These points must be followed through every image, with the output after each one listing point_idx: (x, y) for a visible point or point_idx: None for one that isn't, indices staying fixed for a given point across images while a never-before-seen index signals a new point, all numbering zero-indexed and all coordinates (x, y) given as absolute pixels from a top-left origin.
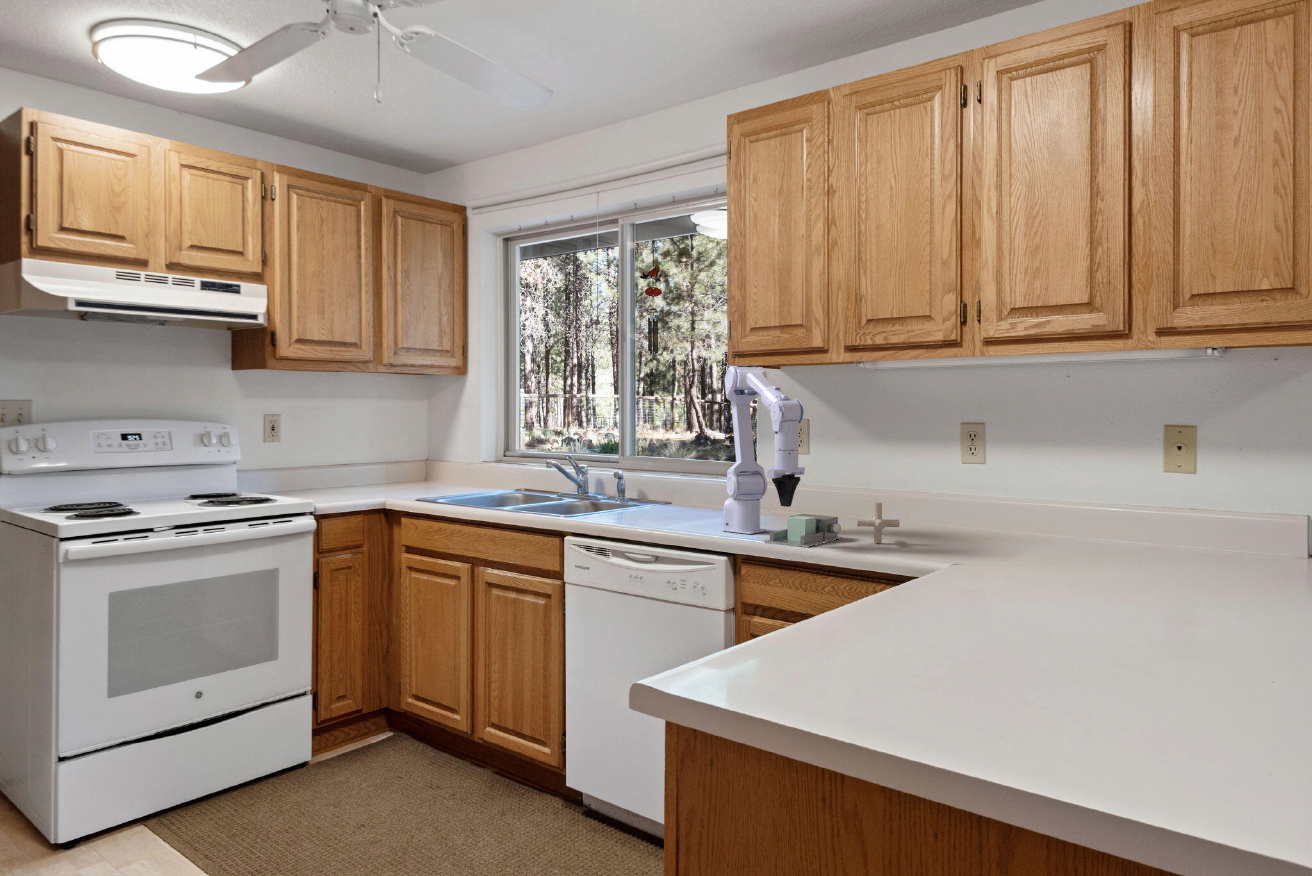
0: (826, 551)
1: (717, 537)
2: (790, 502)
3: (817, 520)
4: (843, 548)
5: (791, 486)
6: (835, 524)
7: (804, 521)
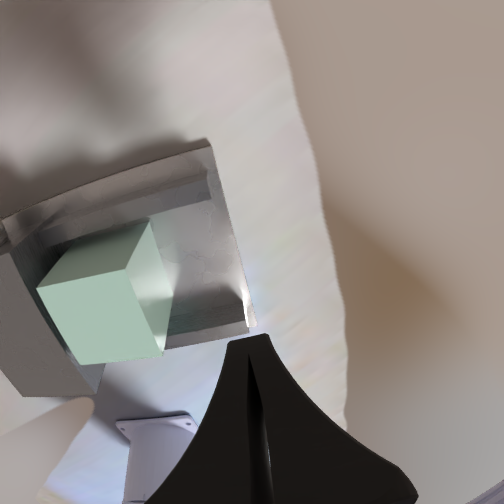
0: (215, 39)
1: None
2: (250, 352)
3: (30, 284)
4: (98, 56)
5: (307, 449)
6: None
7: (129, 267)
